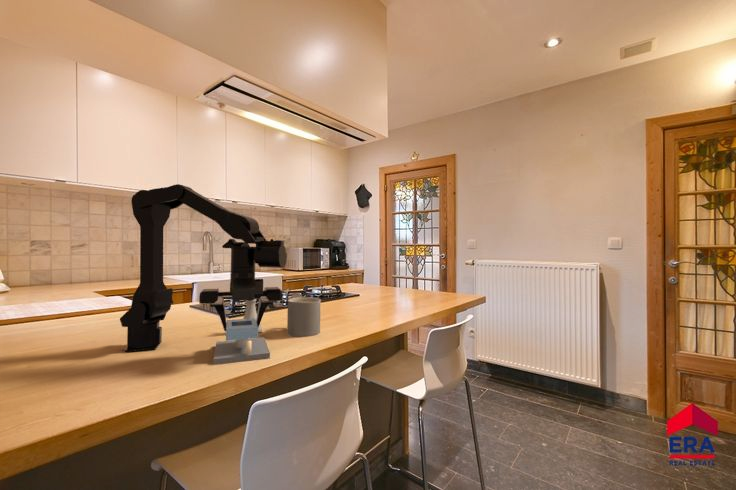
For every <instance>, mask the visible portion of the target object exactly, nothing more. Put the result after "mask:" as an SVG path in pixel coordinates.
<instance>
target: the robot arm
mask: <svg viewBox="0 0 736 490" xmlns="http://www.w3.org/2000/svg"><path fill="white" fill-rule="evenodd" d="M182 205H185V206H187V207H189V208H191V209H192V210H194V211H196V212H198V213H200V214H201V215H203V216H205V217H206V218H209V219H210V220H212V221H213V222H215V223H216V224H217V225H218V226H219V227H220V228H221V229H222V231H223V232H225V233H226V234H227V235H228V236H230V237H231V238H229V239H228V240H227V242H225V243H223V245H222V246H221V247H222V248H223V249H231V250H230V274H229V275H230V278H229V280H230V281H229V282H230V284H229V291H220V289H219V288H205V289H202V290H201V291H200V293H199V297H198V299H199V300H198V301H199V304H200V305H203V304H204V305H207V304H209V307H210V308H215V310H216V312H217V314H218V316H219V318H220V321H221V325H222V327H223V330H224V332H226V323H227V316H226V307H225V300H232V301H233V302H240V301H246V300H248V301H252V300H254V299H258V305H257V306H258V307H257V311H256V313H257V320H256V322H257V325H258V328H259V325H260V324H261V322H262V319H263V316H264V313H266V310H267V308H268V306H269V305H273V304H274V302H275V301H283V291H282V290H281V288H279V287H278V286H272V287H271V286H269V287H264V279H263V278H256V265H258V266H259V268H277V269H278V268H279V269H284V268H285V266H286V264H287V259H288V258H287V257H288V254H287V250H286V247H285V241H284V240H280V239H279V240H278V239H277V240H267V239H266V237H265V236H264V235H263V232H261V231H260V225H259V222H258V221H257V220H256V219H255V218H253V217H249V216H247V215H244V214H240V213H237V212H235V211H231V210H229V209H227V208H225V207H224V206H222V205H220V204H218V203H216V202H215V201H213V200H211V199H209V198H207V197H206V196H204V195H202V194H200V193H198V192H197V191H195V190H194V189H192V188H191V187H189V186H185V185H182V184H173V185H170V186H167V187H166V186H165V187H158V188H151V189H148V190H145V189H140V190H138V191H136V192H135V194H133V195H132V197H131V209H132V214H133V217H134V218H135V220H136V221H137V223H138V225H139V228H140V231H139V238H140V239H139V241H140V242H139V243H140V244H139V248H140V249H139V250H140V251H139V256H140V257H139V284H138V286H137V287H136V289H135V291H134V292H133V295H132V300H131V305H130V308H129V309H128V310H127V311H126V312H125V313H124V314H123V315H122V316H121V317H120V318H119V322H120V324H121V327H123V328H127V330H126V332H127V335H126V337H127V339H126V340H127V341H126V343H127V344H126V348H125V349H124V353H129V352H140V351H141V352H142V351H151V350H157V348H158V347H159V345H161V343H162V342H163V341H162V340H163V339H162V337H163V334H162V333H163V328H162V326H160V321H164V320H165V318H166V315H167V313H168V312H169V311H170V310H171V307H172V304H174V301H173V294H174V291H173V288H171V287H170V288H168V287H167V286H166V284H165V283H164V227H165V225H166V224H167V222H168V220H169V218H170V216H171V211H172V210H174V209H177V208H180V207H181V206H182ZM237 240H241V241H237ZM250 244H255V246H251V245H250Z"/></svg>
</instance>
